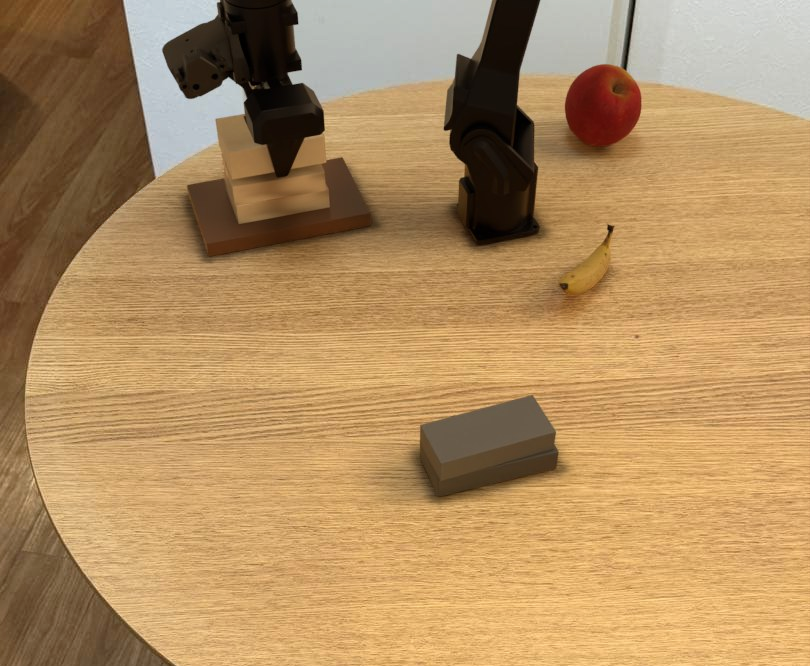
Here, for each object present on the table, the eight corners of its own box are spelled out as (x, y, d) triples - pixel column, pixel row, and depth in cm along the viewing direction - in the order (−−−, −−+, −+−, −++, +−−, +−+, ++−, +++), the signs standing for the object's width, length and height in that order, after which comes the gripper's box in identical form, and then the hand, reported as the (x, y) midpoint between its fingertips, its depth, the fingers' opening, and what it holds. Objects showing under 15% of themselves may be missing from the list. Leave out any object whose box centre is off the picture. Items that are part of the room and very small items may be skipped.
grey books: (534, 428, 95) (538, 393, 92) (557, 470, 92) (562, 435, 89) (417, 455, 93) (417, 420, 90) (436, 499, 90) (437, 464, 87)
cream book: (310, 129, 111) (308, 102, 109) (326, 163, 108) (324, 136, 106) (218, 145, 110) (215, 118, 108) (232, 180, 106) (228, 152, 104)
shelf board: (343, 169, 118) (340, 120, 114) (370, 225, 112) (369, 176, 108) (188, 197, 115) (180, 148, 111) (208, 256, 109) (200, 207, 105)
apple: (565, 162, 119) (574, 90, 113) (558, 120, 124) (566, 48, 118) (639, 162, 119) (651, 89, 113) (628, 119, 124) (640, 48, 118)
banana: (571, 322, 103) (576, 286, 100) (547, 313, 104) (551, 277, 101) (618, 262, 109) (624, 226, 106) (595, 254, 109) (600, 218, 106)
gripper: (143, -42, 101) (172, 120, 113) (182, 62, 90) (209, 230, 102) (267, -60, 103) (282, 102, 115) (320, 40, 92) (331, 207, 104)
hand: (274, 157), depth 109 cm, fingers closed on cream book, 6 cm apart
